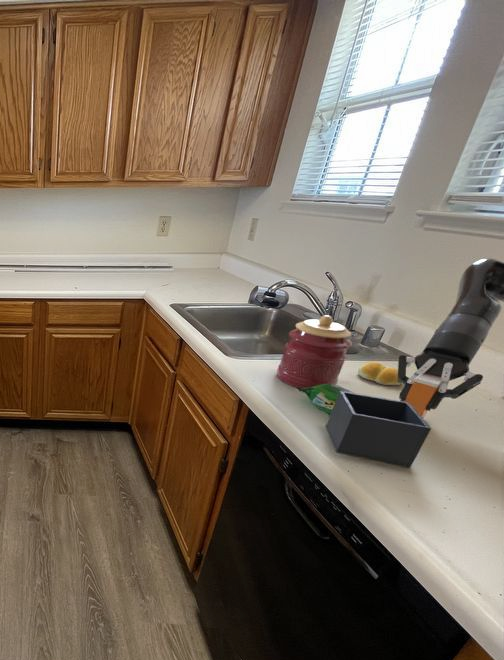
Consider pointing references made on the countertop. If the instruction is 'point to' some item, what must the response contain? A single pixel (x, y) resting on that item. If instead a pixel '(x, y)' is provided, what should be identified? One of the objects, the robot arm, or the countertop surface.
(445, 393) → the robot arm
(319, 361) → the kitchen canister
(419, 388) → the drink carton
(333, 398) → the snack package
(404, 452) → the storage bin
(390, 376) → the bread roll
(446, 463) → the countertop surface
